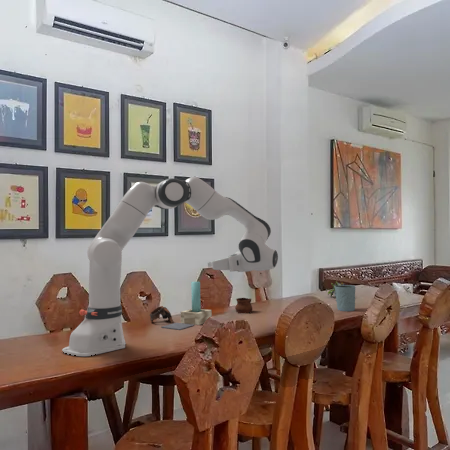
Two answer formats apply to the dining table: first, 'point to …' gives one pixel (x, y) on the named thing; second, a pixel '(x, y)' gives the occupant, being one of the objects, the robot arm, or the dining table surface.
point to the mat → (177, 326)
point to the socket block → (195, 316)
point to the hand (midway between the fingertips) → (214, 263)
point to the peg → (195, 296)
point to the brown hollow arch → (163, 312)
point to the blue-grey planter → (345, 297)
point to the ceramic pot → (243, 305)
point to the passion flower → (334, 288)
